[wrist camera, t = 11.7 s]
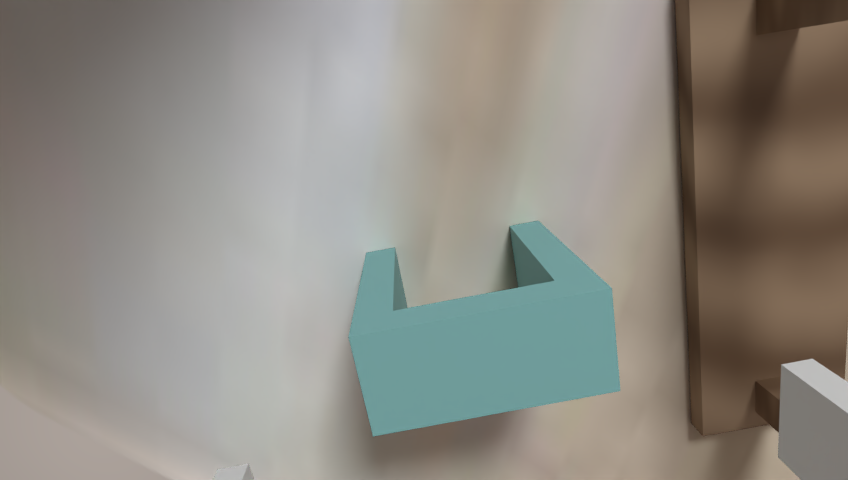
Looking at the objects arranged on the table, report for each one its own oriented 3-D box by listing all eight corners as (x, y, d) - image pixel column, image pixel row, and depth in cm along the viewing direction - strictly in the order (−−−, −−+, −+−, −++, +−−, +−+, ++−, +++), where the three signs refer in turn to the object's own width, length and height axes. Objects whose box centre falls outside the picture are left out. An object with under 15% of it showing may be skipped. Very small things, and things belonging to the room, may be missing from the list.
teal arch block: (366, 252, 26) (348, 337, 17) (538, 220, 26) (611, 288, 17) (381, 322, 27) (372, 436, 18) (546, 291, 27) (620, 390, 18)
